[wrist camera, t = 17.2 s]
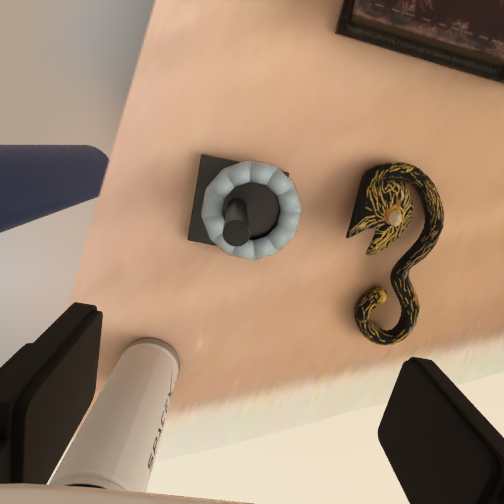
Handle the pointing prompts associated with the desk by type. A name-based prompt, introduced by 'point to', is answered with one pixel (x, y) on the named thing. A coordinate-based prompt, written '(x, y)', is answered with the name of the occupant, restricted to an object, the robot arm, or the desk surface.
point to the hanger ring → (260, 175)
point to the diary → (433, 31)
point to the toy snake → (387, 231)
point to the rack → (235, 207)
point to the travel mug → (124, 422)
